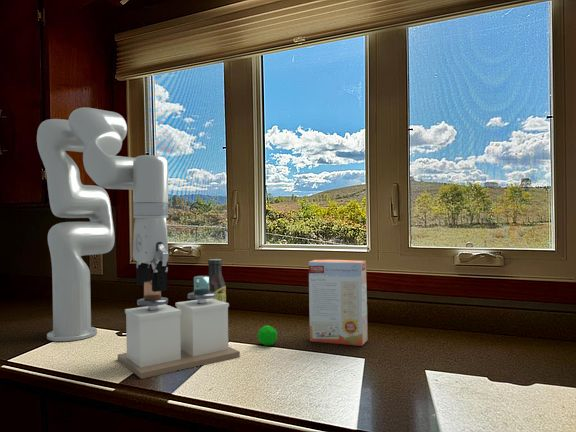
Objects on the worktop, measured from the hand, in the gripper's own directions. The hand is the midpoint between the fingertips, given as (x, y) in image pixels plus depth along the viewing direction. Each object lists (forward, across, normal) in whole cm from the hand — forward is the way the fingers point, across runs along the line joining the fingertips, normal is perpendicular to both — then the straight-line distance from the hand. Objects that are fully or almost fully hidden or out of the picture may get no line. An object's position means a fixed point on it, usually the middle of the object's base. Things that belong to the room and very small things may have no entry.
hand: (151, 287), depth 103 cm
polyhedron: (+17, +5, +28) cm, 33 cm away
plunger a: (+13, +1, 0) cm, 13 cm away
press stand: (+17, +1, +6) cm, 18 cm away
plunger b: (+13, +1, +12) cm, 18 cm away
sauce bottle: (+17, -21, +27) cm, 39 cm away
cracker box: (+17, +14, +44) cm, 49 cm away
